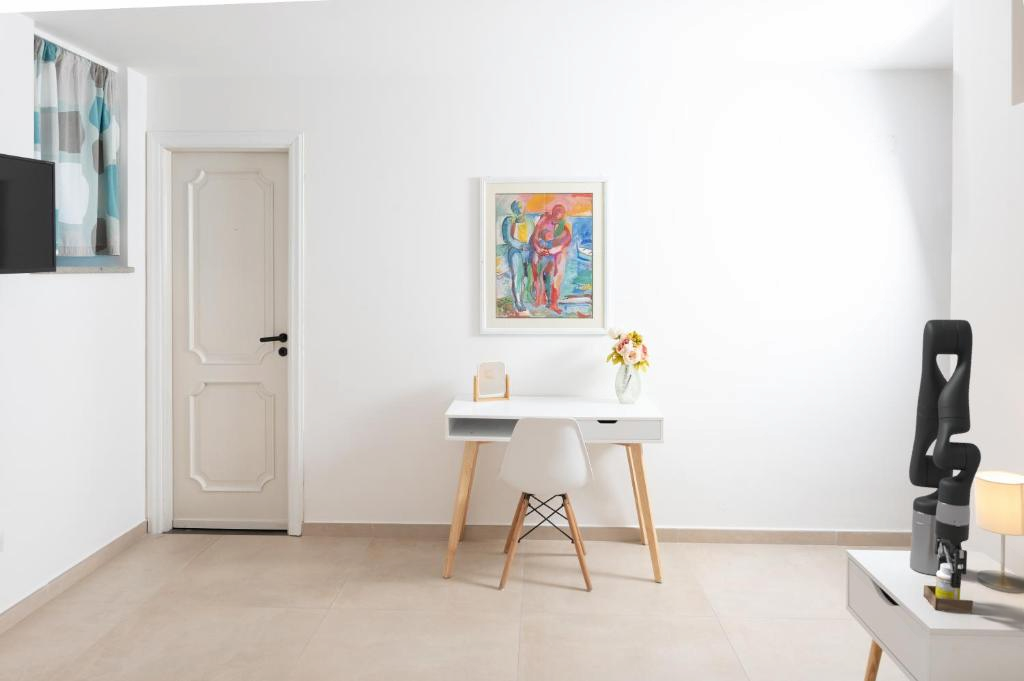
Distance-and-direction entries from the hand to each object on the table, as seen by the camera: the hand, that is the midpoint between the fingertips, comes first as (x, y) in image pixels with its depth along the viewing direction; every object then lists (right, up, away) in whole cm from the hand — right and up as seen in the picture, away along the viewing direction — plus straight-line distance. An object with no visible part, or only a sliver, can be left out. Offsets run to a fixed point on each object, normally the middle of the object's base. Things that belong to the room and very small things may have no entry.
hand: (948, 580), depth 202 cm
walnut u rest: (0, -6, 0) cm, 6 cm away
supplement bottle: (0, -6, +1) cm, 7 cm away
